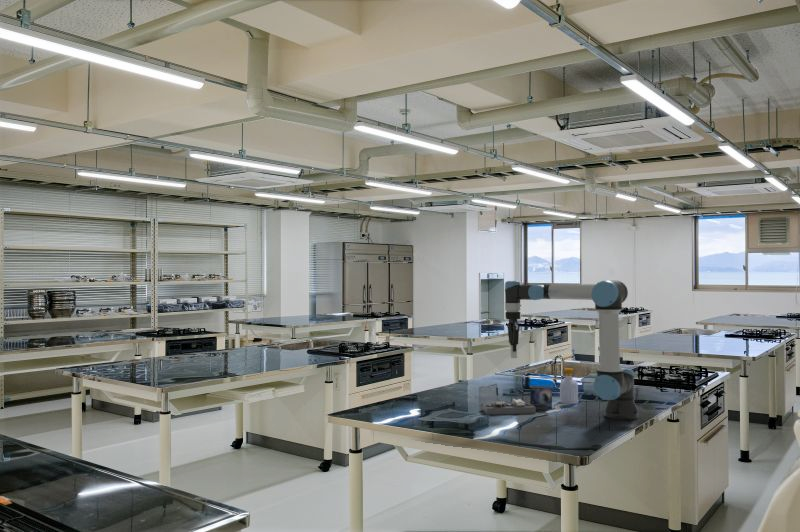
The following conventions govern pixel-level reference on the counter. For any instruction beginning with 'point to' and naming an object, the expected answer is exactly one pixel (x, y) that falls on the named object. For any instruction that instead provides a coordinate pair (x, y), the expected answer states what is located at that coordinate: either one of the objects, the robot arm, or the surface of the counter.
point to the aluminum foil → (593, 375)
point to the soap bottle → (568, 387)
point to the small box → (541, 396)
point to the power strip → (510, 408)
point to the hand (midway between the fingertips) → (513, 357)
